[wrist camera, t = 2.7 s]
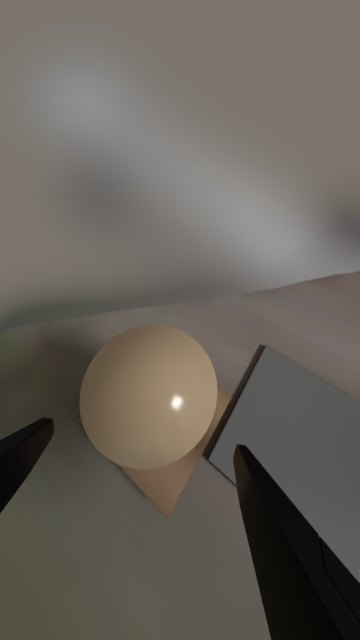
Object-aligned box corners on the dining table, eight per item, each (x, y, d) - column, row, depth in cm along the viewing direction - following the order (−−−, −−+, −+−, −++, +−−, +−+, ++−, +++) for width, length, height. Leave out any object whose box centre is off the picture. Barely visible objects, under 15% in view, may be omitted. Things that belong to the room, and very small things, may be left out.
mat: (349, 586, 12) (356, 592, 12) (207, 458, 16) (208, 459, 15) (368, 409, 19) (372, 409, 18) (264, 346, 22) (266, 344, 22)
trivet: (167, 507, 14) (167, 518, 12) (85, 420, 16) (76, 419, 15) (226, 398, 18) (232, 395, 17) (155, 344, 21) (154, 337, 19)
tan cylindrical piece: (163, 462, 14) (158, 517, 5) (114, 413, 15) (48, 395, 7) (201, 400, 16) (240, 370, 8) (156, 364, 18) (147, 306, 9)
